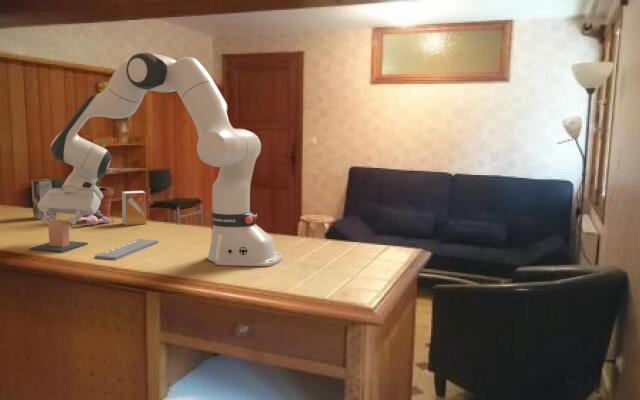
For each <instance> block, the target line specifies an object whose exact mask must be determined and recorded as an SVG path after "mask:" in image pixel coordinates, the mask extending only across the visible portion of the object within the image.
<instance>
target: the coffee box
mask: <svg viewBox="0 0 640 400" xmlns="http://www.w3.org/2000/svg"><path fill="white" fill-rule="evenodd" d="M30 181H31V195H32V196H31V197H32V209H33V218H34V219H38V220H39V221H40V220H41V221H42V220H43V218H44V212H42V211H41V210H40V209H39V208H38V206H37V204H38V202H39V201H40V199H41V198H42V197H43V196H44V194H45V193H46V192H47V191H49V190H51V189H53V188H56V184H55V180H54V179H53V180H52V179H50V178H49V179H48V178H42V179H41V178H40V179H31V180H30ZM49 217H50V218H51V220H57V213H52V214H51V215H49Z"/></svg>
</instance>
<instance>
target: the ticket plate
mask: <svg viewBox="0 0 640 400" xmlns="http://www.w3.org/2000/svg"><path fill="white" fill-rule="evenodd" d="M158 243H159V240H158V239H145V238H139V239H136V240H133V241H131V242H130V241H129V242H128V243H125V244H122V245H119V246H117V247H115V248H111V249H109V250H106V251H104V252H101V253H98V254H96V255H94V259H100V260H101V259H102V260H112V261H113V260H114V261H117V260H119V259H121V258H122V259H123V258H124V257H126V256H129V255H132V254H133V253H136V252H139V251H141V250H143V249H146V248H148V247H151V246H153V245H156V244H158Z"/></svg>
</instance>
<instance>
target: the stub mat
mask: <svg viewBox="0 0 640 400" xmlns="http://www.w3.org/2000/svg"><path fill="white" fill-rule="evenodd" d="M69 244H70V245H67V246H64V247H59V246H50V245H49V242H46V243H43V244H39V245H35V246H33V247H29V248H28V250H29V251H36V252H49V253H60V252H62V254H63V253H66V252H69V251H72V250H75V249H78V248H81V247H84V246H87V245H89V242H85V241H84V242H83V241H72V240H69ZM80 246H81V247H80ZM74 248H75V249H74Z"/></svg>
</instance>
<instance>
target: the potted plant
mask: <svg viewBox="0 0 640 400" xmlns="http://www.w3.org/2000/svg"><path fill="white" fill-rule="evenodd" d="M106 145H107V141H106V140H102V143H101V145H100V146H101V147H103V148H105V147H106ZM101 179H102V177H101V178H99V179H98V180H97V181H96V183H95V185H96V186H97V187H98V188H99V190H100V191H101V193H102V194H103V198H102V199H101V203H100V206H99V208H98V210H97V211H100V214H102V215H103V216H104V217H107V218H110V219H111V217H110V216H111V206H112V196H114V187H112V186H111V187H110V186H101V185H100V182H101ZM88 216H91V215H83V217H85V218H86V217H88ZM93 216H96V217H97V219H101V217H102V216H98V215H97V212H96V213H95V214H94V215H93Z"/></svg>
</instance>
